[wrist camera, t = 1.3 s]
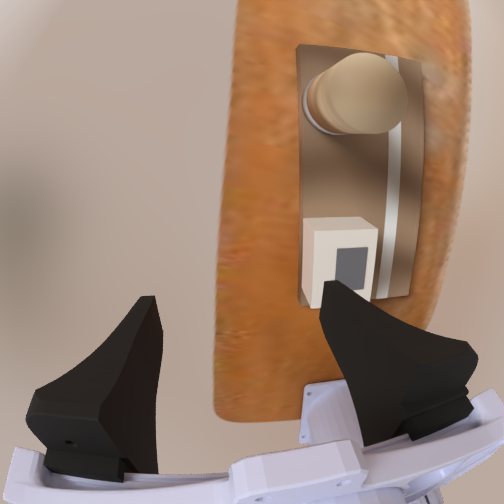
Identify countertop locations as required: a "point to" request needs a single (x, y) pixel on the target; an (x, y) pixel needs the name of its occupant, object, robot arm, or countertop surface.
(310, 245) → the block
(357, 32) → the countertop surface
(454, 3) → the countertop surface
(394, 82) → the tan rounded cylinder
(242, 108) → the countertop surface
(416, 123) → the board
